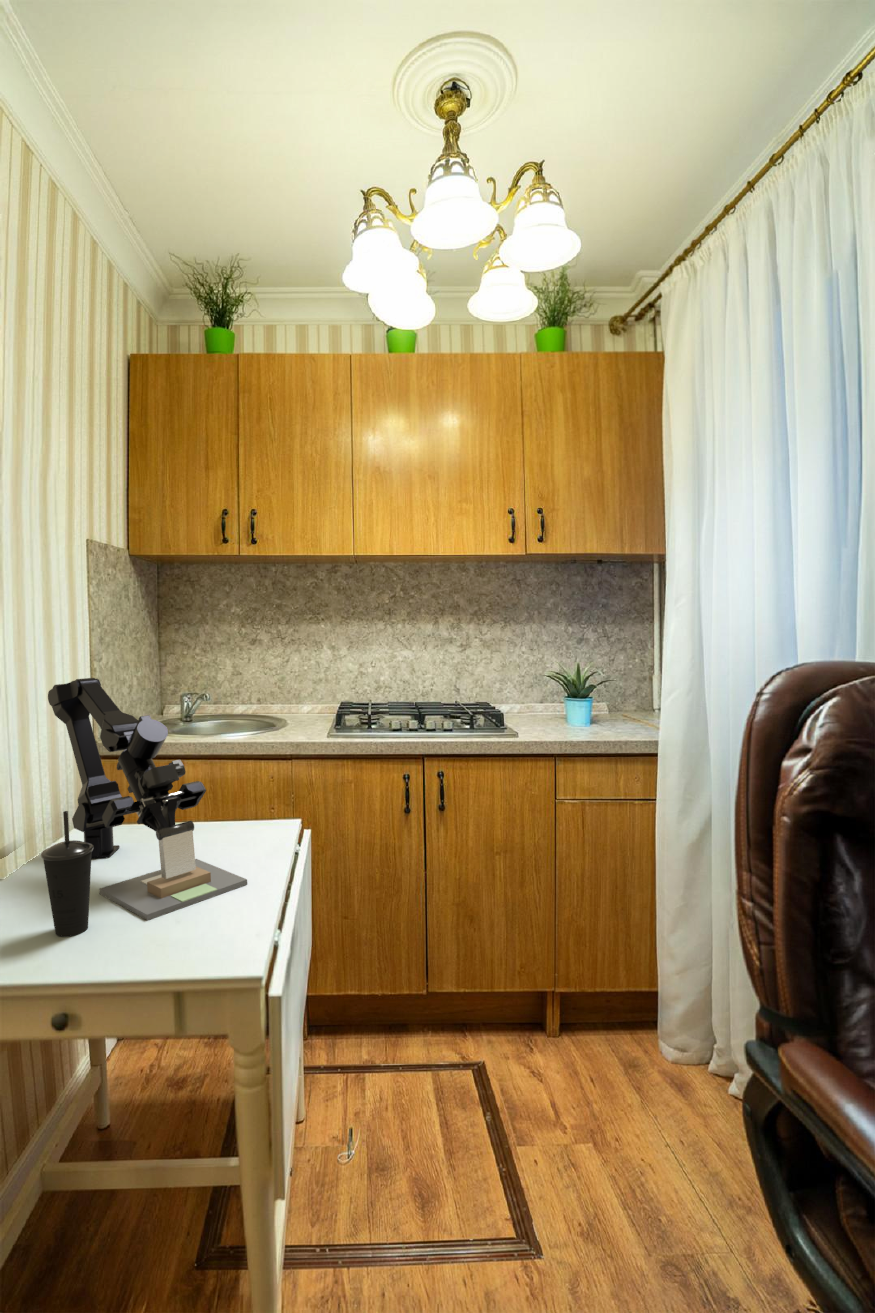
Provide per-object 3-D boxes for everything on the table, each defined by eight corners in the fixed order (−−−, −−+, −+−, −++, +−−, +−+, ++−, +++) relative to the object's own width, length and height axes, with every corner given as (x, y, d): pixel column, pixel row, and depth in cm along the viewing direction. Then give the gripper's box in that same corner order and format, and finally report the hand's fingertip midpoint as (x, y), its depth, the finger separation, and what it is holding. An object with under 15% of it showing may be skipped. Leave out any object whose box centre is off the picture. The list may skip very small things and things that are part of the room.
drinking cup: (57, 921, 121) (51, 805, 120) (104, 919, 122) (98, 804, 121) (36, 942, 114) (29, 819, 112) (86, 939, 114) (80, 817, 113)
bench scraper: (159, 877, 131) (155, 828, 131) (192, 867, 136) (188, 820, 136) (165, 879, 130) (160, 830, 130) (197, 869, 135) (193, 821, 135)
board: (99, 893, 133) (98, 879, 133) (196, 863, 148) (196, 850, 148) (147, 920, 121) (146, 904, 121) (247, 884, 136) (246, 870, 136)
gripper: (106, 756, 129) (138, 828, 123) (199, 741, 143) (232, 804, 137) (89, 792, 135) (119, 862, 128) (180, 774, 149) (211, 836, 142)
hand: (173, 840), depth 134 cm, fingers closed, pressing on bench scraper
